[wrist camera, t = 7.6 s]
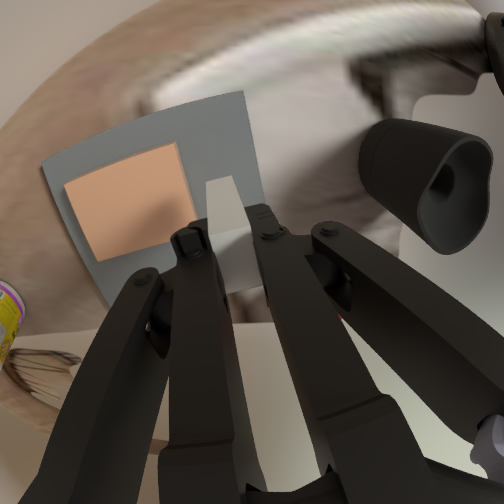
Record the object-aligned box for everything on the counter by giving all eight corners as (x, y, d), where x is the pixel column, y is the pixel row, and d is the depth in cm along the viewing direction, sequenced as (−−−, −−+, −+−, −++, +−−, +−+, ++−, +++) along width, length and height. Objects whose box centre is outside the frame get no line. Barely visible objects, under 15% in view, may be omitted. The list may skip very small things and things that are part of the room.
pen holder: (336, 181, 24) (403, 232, 15) (378, 95, 20) (462, 108, 11) (399, 216, 27) (460, 266, 18) (435, 144, 23) (507, 175, 15)
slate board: (240, 91, 18) (243, 90, 17) (274, 270, 27) (277, 278, 26) (47, 158, 17) (40, 162, 16) (118, 309, 27) (116, 317, 26)
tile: (173, 143, 17) (63, 185, 16) (200, 232, 21) (98, 262, 20) (175, 140, 18) (72, 178, 18) (199, 223, 22) (103, 251, 22)
